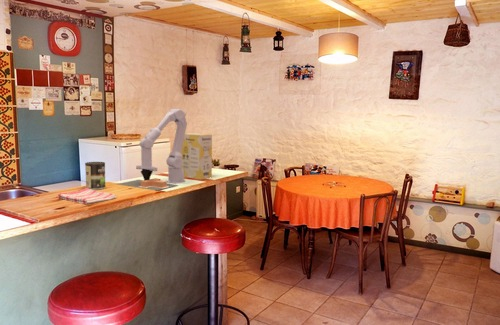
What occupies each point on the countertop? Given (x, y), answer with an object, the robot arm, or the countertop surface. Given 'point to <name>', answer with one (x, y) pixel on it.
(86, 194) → the dish towel
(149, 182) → the t block
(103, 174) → the coffee can
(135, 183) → the slate mat
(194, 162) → the pasta box
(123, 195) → the countertop surface
